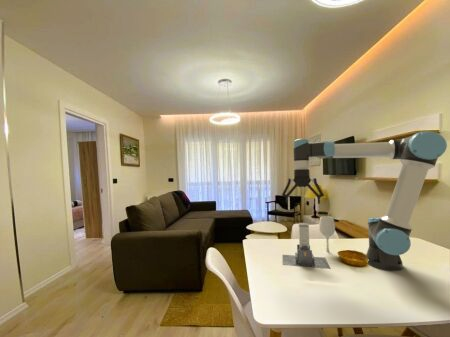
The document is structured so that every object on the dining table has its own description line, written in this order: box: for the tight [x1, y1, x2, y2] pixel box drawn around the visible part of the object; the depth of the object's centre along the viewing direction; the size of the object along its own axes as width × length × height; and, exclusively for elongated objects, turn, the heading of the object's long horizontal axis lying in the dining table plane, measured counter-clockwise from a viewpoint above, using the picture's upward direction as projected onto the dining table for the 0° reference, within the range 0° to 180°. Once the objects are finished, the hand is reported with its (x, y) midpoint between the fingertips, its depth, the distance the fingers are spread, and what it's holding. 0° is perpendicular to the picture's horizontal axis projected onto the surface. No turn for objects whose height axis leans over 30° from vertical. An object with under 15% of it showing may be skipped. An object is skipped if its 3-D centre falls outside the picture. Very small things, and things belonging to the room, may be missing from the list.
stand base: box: [282, 243, 331, 270], centre depth 113 cm, size 22×14×10 cm, turn 76°
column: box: [298, 222, 310, 250], centre depth 112 cm, size 5×5×19 cm
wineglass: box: [318, 215, 336, 254], centre depth 125 cm, size 9×9×21 cm
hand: (302, 210), depth 113 cm, fingers open, 13 cm apart
